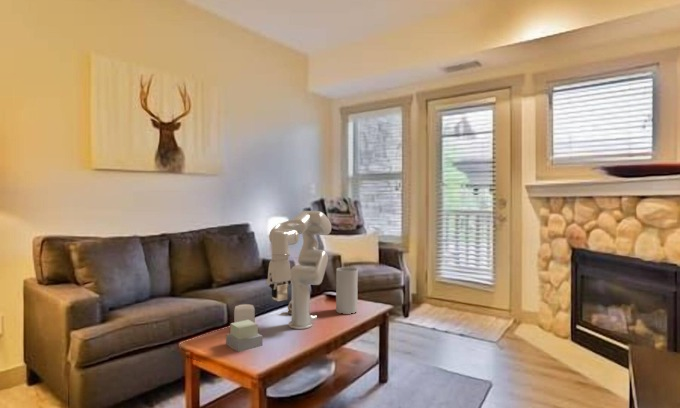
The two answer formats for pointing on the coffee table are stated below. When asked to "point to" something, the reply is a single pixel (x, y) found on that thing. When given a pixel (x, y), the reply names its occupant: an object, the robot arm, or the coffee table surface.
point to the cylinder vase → (346, 290)
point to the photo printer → (244, 313)
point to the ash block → (281, 292)
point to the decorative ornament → (290, 307)
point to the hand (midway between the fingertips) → (279, 296)
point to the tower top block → (244, 329)
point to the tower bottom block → (244, 342)
